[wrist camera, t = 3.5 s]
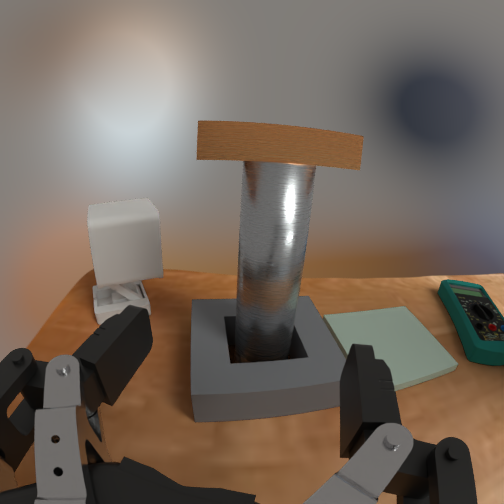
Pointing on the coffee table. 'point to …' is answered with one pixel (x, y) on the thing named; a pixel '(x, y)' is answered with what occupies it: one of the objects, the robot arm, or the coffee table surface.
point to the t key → (273, 220)
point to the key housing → (261, 367)
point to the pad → (393, 343)
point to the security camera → (123, 254)
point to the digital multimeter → (475, 321)
